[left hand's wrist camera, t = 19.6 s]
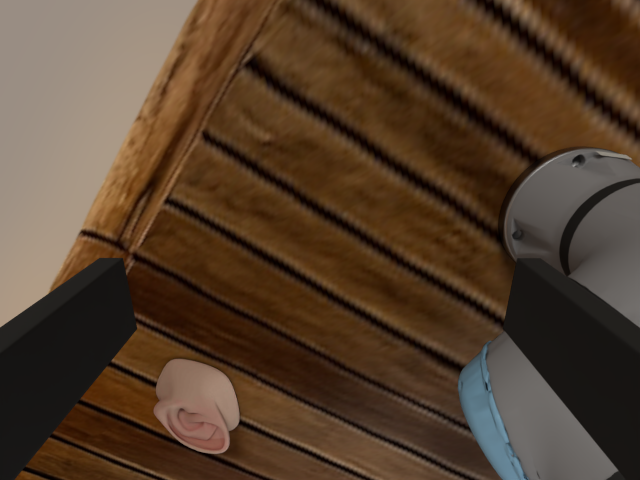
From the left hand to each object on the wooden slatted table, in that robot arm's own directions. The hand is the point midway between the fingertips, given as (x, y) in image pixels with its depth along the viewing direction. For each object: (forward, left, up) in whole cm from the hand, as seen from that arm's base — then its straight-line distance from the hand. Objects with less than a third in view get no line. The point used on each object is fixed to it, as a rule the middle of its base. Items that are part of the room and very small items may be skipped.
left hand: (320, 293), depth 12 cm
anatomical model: (-2, +37, -30) cm, 47 cm away
